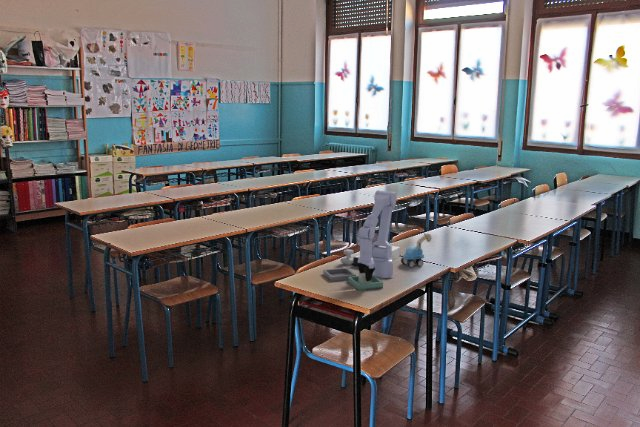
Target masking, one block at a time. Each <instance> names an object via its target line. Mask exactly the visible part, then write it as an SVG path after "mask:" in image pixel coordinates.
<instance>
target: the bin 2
mask: <svg viewBox="0 0 640 427" xmlns="http://www.w3.org/2000/svg"><path fill="white" fill-rule="evenodd" d="M347 282H349V283H350V284H351V285H352V286H353V287H354V288H355V290H356V291H358V292H359V291H360V292H361V291H369V290H379V289H384V281H382V280H381V279H379V277H376V276H374V275H373V274H372V278H371V283H364V284H359V275H356V276H352V277H348V280H347Z"/></svg>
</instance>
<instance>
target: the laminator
mask: <svg viewBox="0 0 640 427" xmlns="http://www.w3.org/2000/svg"><path fill="white" fill-rule="evenodd" d="M391 246H392V256H391V258H390V259H391V260H392V261H394V260H396V259H397V258H400V255H401V247H400V246H397V245H396V246H395V245H391ZM378 247H384V246H378ZM384 248H386V247H384ZM353 257H354V258H353V264H352V265H353V266H354V267H357V268H358V266H357V264H356V262H358V257H360V254H358V255H355V256H353ZM372 263H373V264H374V260H373V258H372ZM366 267H367V266H366ZM373 267H374V265H373Z"/></svg>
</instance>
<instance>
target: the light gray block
mask: <svg viewBox="0 0 640 427" xmlns="http://www.w3.org/2000/svg"><path fill="white" fill-rule="evenodd" d="M358 276H359V284H364V283H371V281H366V276H365V273H358Z"/></svg>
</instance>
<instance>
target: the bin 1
mask: <svg viewBox="0 0 640 427" xmlns="http://www.w3.org/2000/svg"><path fill="white" fill-rule="evenodd" d="M322 271H323V272H322V274H323V276H325V277H326V278H327V279H328V280H329V281H330V282H332V283H333V282H341V281H348V277H352V276H357V274H356V273H354V272H353V271H352V270H350V269H349V268H348V267H341V268H340V267H339V268H331V269H330V268H329V269H322Z"/></svg>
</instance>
